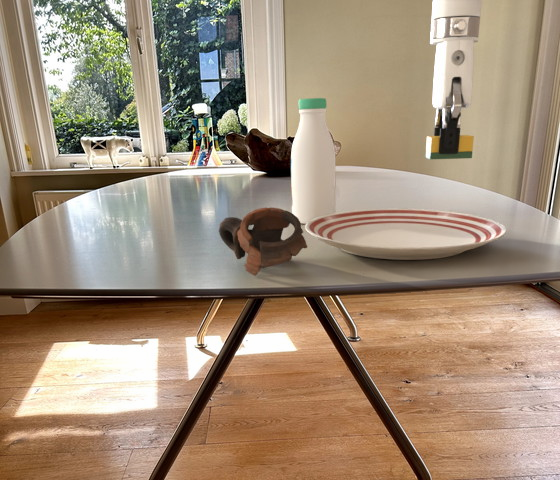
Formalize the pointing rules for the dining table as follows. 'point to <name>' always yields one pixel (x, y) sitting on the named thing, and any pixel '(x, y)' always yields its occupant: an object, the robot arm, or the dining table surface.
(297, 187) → the milk bottle
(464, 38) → the robot arm
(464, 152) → the sponge
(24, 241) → the dining table surface
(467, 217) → the dinner plate
